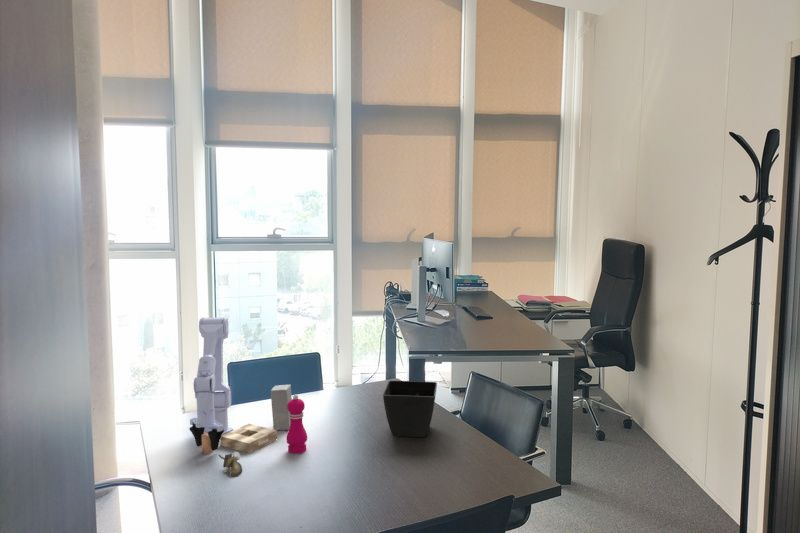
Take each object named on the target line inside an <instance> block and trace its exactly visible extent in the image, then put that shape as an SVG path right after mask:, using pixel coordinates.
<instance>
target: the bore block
mask: <svg viewBox="0 0 800 533" xmlns="http://www.w3.org/2000/svg"><path fill="white" fill-rule="evenodd" d="M276 439H277V440H278V430H274V428H273V429H272V428H269V427H264V426H260V425H256V424H251V423H247V424H245V425H242V426H240V427H238V428H235V429H233V430H232V431H230V432H227V433H225V434H223V435H221V438H220V446H221V447H225V448H229V449H232V450H235V451H240V452H244V453H246V454H251V453H253V452H255V451H257V450H259V449H261V448H262V447H265V446H267V445H269V444H271V443H272V442H273V443H274V442H275V441H277V440H276ZM274 440H275V441H274ZM270 442H271V443H270Z"/></svg>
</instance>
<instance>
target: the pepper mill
mask: <svg viewBox="0 0 800 533" xmlns="http://www.w3.org/2000/svg"><path fill="white" fill-rule="evenodd" d="M305 406H306V405H305V402H304V401H303V399H301V398H299V396H298V395H297V394H294V395H293V396H292V400H290V401H289V402H288V404H287V409H288V411H289V412H290V413H289V418H290V421H291V422H290V428H289V430H287V434H286V438H285V439H286V442H287V444H288V446H287V452H288V451H289V452H290V454H292V453H293V455H298V454H303V453H305V452H306V451H307V444H306V443H307V441H308V433H307V431H306V429H305V427H304V423H303V418H304V410H305ZM289 452H288V453H289Z"/></svg>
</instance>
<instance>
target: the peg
mask: <svg viewBox="0 0 800 533" xmlns="http://www.w3.org/2000/svg"><path fill="white" fill-rule="evenodd" d="M201 436H202V445H201V452H202V454H211V453H213V452H214V451H212V449H211V441H210V438H209V435H208V433H204V434H202V435H201Z"/></svg>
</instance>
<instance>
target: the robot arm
mask: <svg viewBox="0 0 800 533" xmlns="http://www.w3.org/2000/svg"><path fill="white" fill-rule="evenodd" d="M198 332H199V333H200V336H201V337H202V338H203V354H202V356H201V357H200V358H199V360H198V364H197V365H198V366H197V372H196V377H195V378H194V379H193V392H194V397H195V399H196V415H197V416H196V417H193V418H190V419H189V425H191V427H190V426H189V431H190V432H191V434H192V436H193V438H194V439H195V440H194V441H195V444H196V446H197V447H202V436H201V435H202V434H205V433H208V435H209V438H210V441H211V449H212V451H213V452H214V451H216V450H218V449H219V444H220V442H221V439H220V438H221V436H222V435H224V434H226V433H229V432H231V431H233V430H234V428H232V427H229V418H228V417H229V416H228V413H229V412H228V409H229V408H230V407H231V406H232V393H231V388H230V386H229V385H227V384H226V383H225V382H224V354H223V353H224V350H223V349H224V346H223V345H224V340H225V339H228V337H229V320H228V317H227V316H221V317H219V316H218V317H200V319H199V321H198Z"/></svg>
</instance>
